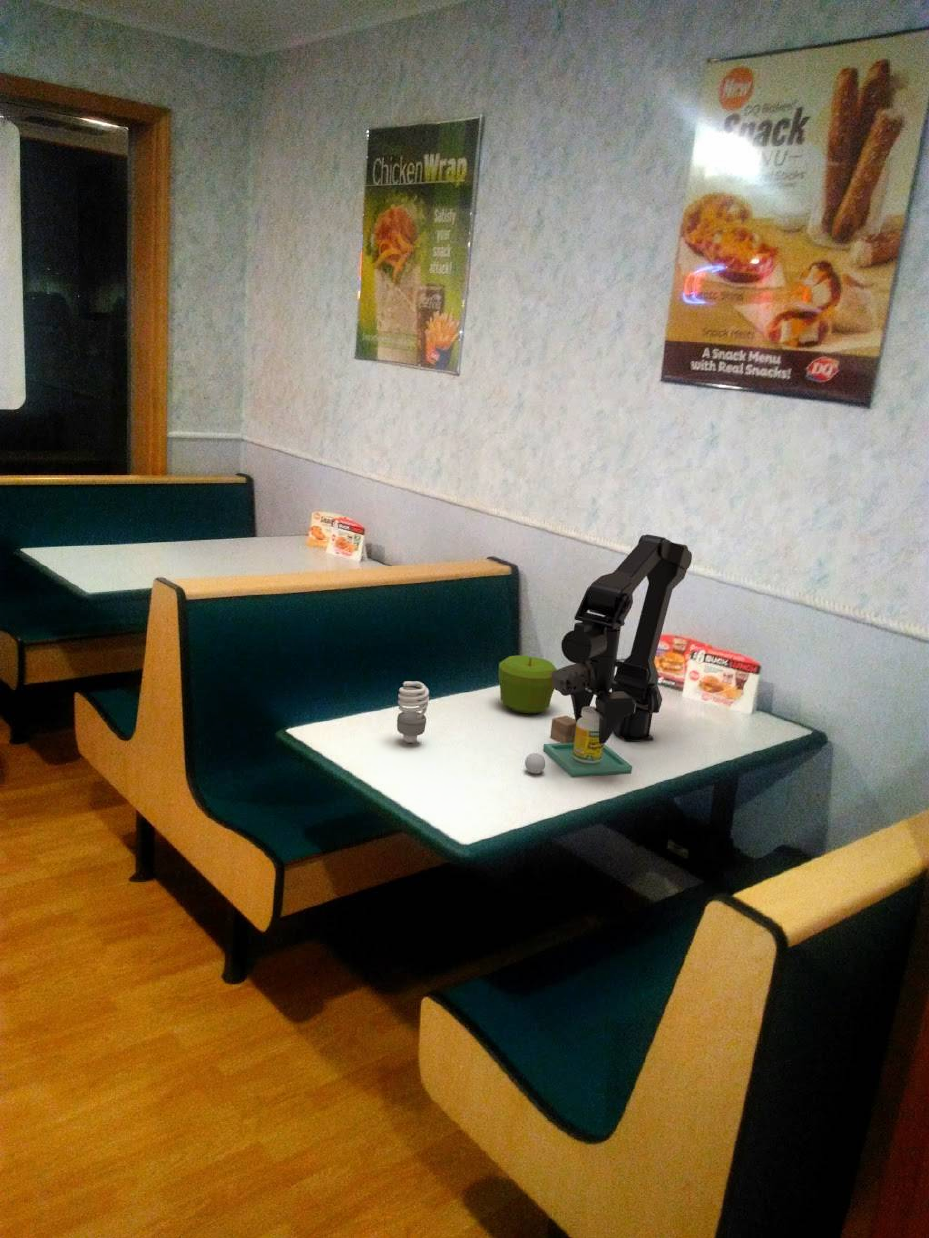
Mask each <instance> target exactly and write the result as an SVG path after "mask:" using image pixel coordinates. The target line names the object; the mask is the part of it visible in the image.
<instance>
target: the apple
mask: <svg viewBox="0 0 929 1238" xmlns="http://www.w3.org/2000/svg"><path fill="white" fill-rule="evenodd" d="M498 664H499V665H498V674H497V675H498V682H499V693H500V701H501V702H502V703H503V704H504V705H506V707H508V708H510V709H511V710H513V711H514V712H518V713H522V714H539V713H540V712H543V711H544V710H546V709H548V708H549V707H550V704H551V700H552V696H553V694H554V691H555V688H554V683H553V679H552V674H551V673H552V672H553V671H556V670H558V669H557V667H556V666H555V665H554V664H553V663H552V662H551V661H549V660H547V659H544V658H541V657H536V656H529V655H511V656H510V655H509V656H508V657H506V658H505V659H503V660H502V661H500V662H499V663H498Z"/></svg>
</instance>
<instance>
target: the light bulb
mask: <svg viewBox="0 0 929 1238" xmlns="http://www.w3.org/2000/svg"><path fill="white" fill-rule="evenodd" d="M402 685H403V686H402V687H400V688H399V690H398V691H399V693H398V695H397V697H398V700H397V704H398V705H399V706H398V709H399V711H401V712H400V713H398V715H397V719H396V729H397V731H398V732H399V733H400V735H403V737H402V738H403V740H404V741H405V742H406V743H407V744H412V743H415V742H416V741H417V739H418V736H420V735H421V736H422V734H424V733H425V730H426V725H427V717H426V716H425V713H426V712H427V709H428V708H427V707H428V705H429V700H430V690H429V688H428V687H427V686H426V685H425V684H424V683H422V682H421V681H417V680H416V681H409V680H408V681H404V682H403V683H402ZM410 707H411V708H410Z"/></svg>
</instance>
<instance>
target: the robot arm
mask: <svg viewBox="0 0 929 1238" xmlns="http://www.w3.org/2000/svg"><path fill="white" fill-rule="evenodd" d="M692 560H693V555H692V552H691V550H689V547H688V546H687V545H686V544H683V543H677V542H672V541H670V539H667V538H666V537H664V536H658V535H654V534H648V533H647V534H642V535H640V537H639V540H638V542H637V544H636V545H635V546H634V548H633V549H632V550H631V551H630V553H629V554H628V555H627V556H626V557H625V558H624V559H623V561H622V562H621V563H620V564H619V565H618V566H617V567H616V569H615V570H614V571H613V572H611V573H608V574H607V573H606V574H604V575H600V576H599V577H598V578H597V579H595V580H594V581H593V582H592V583H591V584H590V585H589V586H588V587H587V589H586V590H585V593H584V595H583V597H582V600H581V601H580V604H579V606H578V608H577V611H576V613H575V616H574V618H573V619H574V620H575V621H578V622H576V623H574V626H573V630H571V631H568V632H566V634H565V635H564V636H563V638H562V640H561V644H560V645H561V646H560V648H561V651H562V654H563V656H564V657H565V658H566V660H568V661H569V662H571V663H572V664H569V665H566V666H563V667H560V668H558V669H557V670H556V671H553V672H552V673H551V674H552V679H553V683H554V688H555V689H554V691H557V692H559V693H560V694H561V695H562V696H564V697H567V696H570V700H571V702H572V704H571V705H572V709H573V715H574V719H575V721H576V724H577V721H578V719H579V718H581V717H582V716H581V712H582V708H583V707H586V706H591V704H592V701H593V698H594V696H596V697H595V701H594V703H595V704H594V705H595V707H596V708H594V711H595V712H596V713H597V714H598V715H599V743H600V744H606V743H607V741H608V740H609V738H610V737H611V735H612V734H613V733H614V734H615V735H617V736H618V737H619V738H620V739H622V740H623V741H625V742H639V741H640V742H641V741H653V740H654V736H652V735H651V734H650V733H651V726H652V719H653V714H659V713H660V709H661V707H662V703H663V696H662V693H661V691H660V688H659V686H658V683H659V677H660V676H659V672H658V669H657V666H656V663H655V660H656V656H657V652H658V648H659V643H660V639H661V635H662V631H663V628H664V623H665V621H666V616H667V611H668V609H669V605H670V600H671V597H672V592H673V590H674V588H676V587H677V586H678V585H679V584H680V583H681V582H682V581H683V580H684V579H685V576H686V574H687V571H688V569H689V568H690V566H691V564H692ZM645 578H646V579H647V583H648V585H647V589H646V592H645V596H644V599H643V600H644V601H643V604H642V608H641V612H640V616H639V620H638V623H637V627H636V631H635V634H634V635H635V636H634V638H633V643H632V646H631V650H630V654H629V655H628V657H626V658H625V660H623V661H622V660H619V659H618V657H617V656H618V651H619V645H620V637H621V629H622V628H621V627H623V626H625V625H626V623H625V620H626V619H627V616H628V614H629V612H630V611H631V609H632V608H633V607H632V606H633V605H634V597H633V593H634V592H635V591H636V589H637V588H638V587H639V586H640V584H641V583H642V582H643V581H644V579H645Z"/></svg>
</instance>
